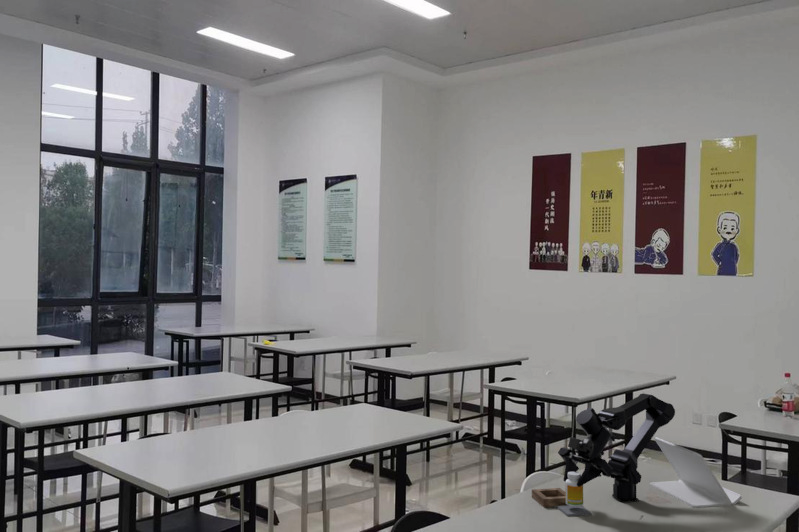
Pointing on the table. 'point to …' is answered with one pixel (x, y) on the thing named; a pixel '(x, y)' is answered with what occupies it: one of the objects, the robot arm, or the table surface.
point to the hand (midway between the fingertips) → (571, 483)
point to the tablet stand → (693, 479)
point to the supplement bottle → (574, 490)
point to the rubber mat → (573, 510)
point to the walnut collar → (549, 497)
